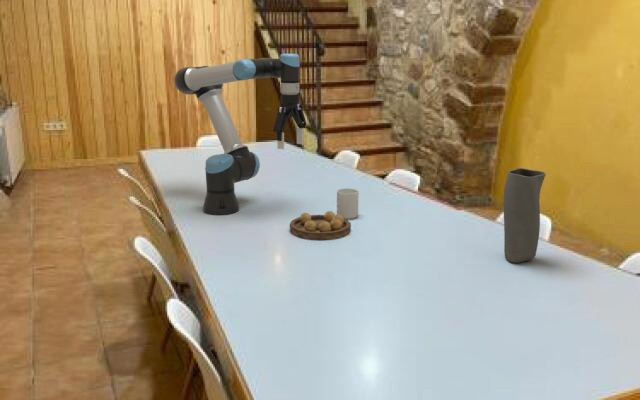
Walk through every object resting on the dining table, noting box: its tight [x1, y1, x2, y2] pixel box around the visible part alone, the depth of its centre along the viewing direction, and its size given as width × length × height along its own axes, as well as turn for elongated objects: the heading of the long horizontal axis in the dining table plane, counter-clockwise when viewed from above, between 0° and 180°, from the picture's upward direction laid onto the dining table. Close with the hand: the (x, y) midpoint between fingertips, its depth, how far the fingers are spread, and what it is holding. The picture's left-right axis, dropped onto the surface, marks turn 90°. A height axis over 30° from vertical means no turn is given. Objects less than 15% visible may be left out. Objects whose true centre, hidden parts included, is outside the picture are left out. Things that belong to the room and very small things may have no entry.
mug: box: [336, 187, 360, 221], centre depth 242 cm, size 12×9×11 cm
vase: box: [502, 167, 547, 264], centre depth 193 cm, size 12×12×30 cm
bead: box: [299, 212, 311, 225], centre depth 228 cm, size 5×5×5 cm
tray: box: [289, 214, 352, 241], centre depth 225 cm, size 23×23×3 cm
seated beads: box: [304, 210, 344, 232], centre depth 223 cm, size 12×19×5 cm, turn 148°
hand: (290, 146), depth 239 cm, fingers open, 13 cm apart
